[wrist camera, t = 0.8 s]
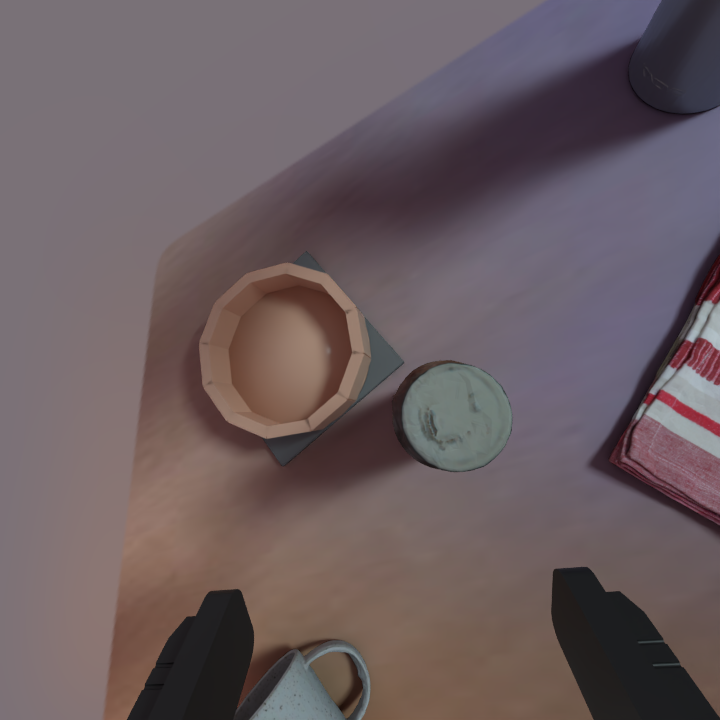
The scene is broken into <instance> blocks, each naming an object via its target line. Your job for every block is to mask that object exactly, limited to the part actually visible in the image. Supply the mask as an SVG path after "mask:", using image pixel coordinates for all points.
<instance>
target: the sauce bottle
mask: <svg viewBox="0 0 720 720" xmlns="http://www.w3.org/2000/svg"><path fill="white" fill-rule="evenodd" d="M392 410H393V425H394V430H395V433H396V436H397V438H398V440H399V442H400V443H401V445H402V447H403V448H404V449H405V450H406V452H407V453H408V454H409V455H411V456H412V457H413V458H414V459H416V460H417V461H419V462H420V463H422V464H424V465H426V466H429V467H432V468H435V469H441V470H444V471H450V472H465V471H471V470H475V469H478V468H481V467H484V466H485V465H487V464H488V463H490V462H491V461H492V460H493V459H494V458H495V457H496V456H497V455H498V454H499V453H500V452H501V451H502V450H503V448H504V447H505V445H506V443H507V440H508V438H509V436H510V434H511V431H512V411H511V406H510V402H509V400H508V397H507V395H506V393H505V391H504V390H503V388H502V386H501V385H500V384H499V383H498V382H497V381H496V380H495V379H494V378H493V377H492V376H491V375H489V374H488V373H486V372H485V371H483V370H481V369H479V368H477V367H474V366H472V365H467V364H464V363H460V362H456V361H452V360H450V361H448V360H446V361H435V362H430V363H427V364H424V365H422V366H420V367H418V368H417V369H415V370H413V371H412V372H411V373H410V374H409V375H408V376H407V377H406V378H405V380H404V381H403V382H402V384H401V385H400V386H399V388H398V390H397V392H396V394H395V395H394V397H393V400H392Z"/></svg>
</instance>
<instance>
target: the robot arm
mask: <svg viewBox="0 0 720 720" xmlns="http://www.w3.org/2000/svg"><path fill="white" fill-rule="evenodd" d="M629 79H630V82H631V85H632V88H633V89H634V91H635V92H636V94H637V95H638V96H639V97H640V98H641V99H642V100H643V101H644V102H646V103H647V104H649V105H651V106H653V107H654V108H657V109H660V110H663V111H666V112H672V113H679V114H681V113H696V112H701V111H706V110H709V109H711V108H714V107H716V106H719V105H720V0H662V1H661V3H660V4H659V6H658V8H657V10H656V12H655V13H654V15H653V17H652V19H651V21H650V23H649V25H648V26H647V28H646V30H645V32H644V34H643V36H642V38H641V39H640V41H639V43H638V45H637V47H636V49H635V51H634V53H633V55H632V57H631V60H630V64H629ZM551 614H552V621H553V626H554V629H555V633H556V636H557V639H558V641H559V644H560V646H561V648H562V650H563V653H564V655H565V657H566V659H567V661H568V664H569V666H570V668H571V670H572V673H573V675H574V677H575V679H576V681H577V684H578V686H579V688H580V690H581V693H582V695H583V697H584V699H585V701H586V704H587V706H588V708H589V710H590V712H591V715H592V717H593V719H594V720H720V718H719V716H718V715H717V714H716V712H715V711H714V709H713V708H712V707H711V705H710V704H709V702H708V701H707V700H706V698H705V697H704V695H703V694H702V693H701V691H700V690H699V688H698V687H697V686H696V684H695V683H694V681H693V680H692V678H691V677H690V676H689V674H688V673H687V671H686V670H685V669H684V667H681V665H680V663H679V660H678V659H677V657H676V656H675V655H674V653H673V652H672V650H671V649H670V648H669V646H668V645H667V644H665V643H664V641H663V638H662V636H661V635H660V634H659V632H658V631H657V629H656V628H655V627H654V625H653V624H652V622H651V621H650V620H649V618H648V617H647V615H646V614H645V613H644V612H643V611H642V610H641V609H640V608H639V607H637V606H636V605H635V604H634V603H633V602H632V601H630V600H629V599H628V598H627V597H626V596H625V595H623V594H622V593H621V592H620V591H615V592H605V590H604V589H603V587H602V585H601V584H600V582H599V581H598V579H597V578H596V576H595V575H594V573H593V572H592V571H591V570H590V569H589V568H588V567H576V568H561V569H554V571H553V583H552V608H551ZM253 646H254V631H253V626H252V623H251V620H250V617H249V614H248V611H247V608H246V605H245V602H244V598H243V595H242V593H241V591H240V590H239V589H234V590H219V591H210V592H209V593H208V594H207V595H206V597H205V598H204V600H203V602H202V605H201V607H200V609H199V611H198V613H197V615H196V616H192V617H186V619H185V620H184V621H183V622H182V623H181V624H180V626H179V627H178V628H177V629H176V630H175V631H174V633H173V634H172V635H171V636H170V637H169V638H168V640H167V642H166V644H165V646H164V648H163V650H162V652H161V654H160V656H159V658H158V660H157V662H156V667H155V668H153V670H152V672H151V674H150V676H149V677H148V679H147V681H146V683H145V688H144V690H142V691H141V693H140V695H139V697H138V699H137V701H136V703H135V705H134V707H133V709H132V711H131V713H130V715H129V717H128V719H127V720H233V719H234V716H235V713H236V709H237V706H238V702H239V699H240V695H241V692H242V689H243V685H244V682H245V678H246V675H247V671H248V668H249V665H250V661H251V657H252V653H253Z"/></svg>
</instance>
